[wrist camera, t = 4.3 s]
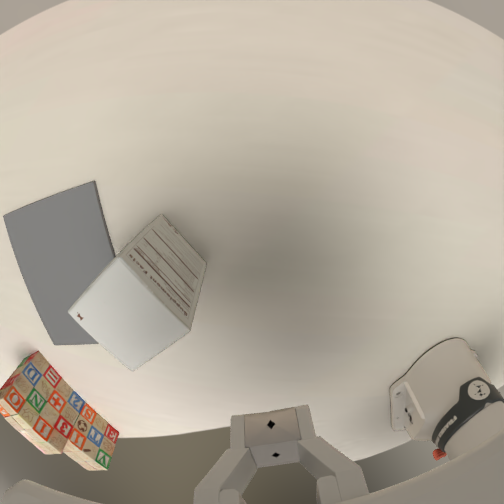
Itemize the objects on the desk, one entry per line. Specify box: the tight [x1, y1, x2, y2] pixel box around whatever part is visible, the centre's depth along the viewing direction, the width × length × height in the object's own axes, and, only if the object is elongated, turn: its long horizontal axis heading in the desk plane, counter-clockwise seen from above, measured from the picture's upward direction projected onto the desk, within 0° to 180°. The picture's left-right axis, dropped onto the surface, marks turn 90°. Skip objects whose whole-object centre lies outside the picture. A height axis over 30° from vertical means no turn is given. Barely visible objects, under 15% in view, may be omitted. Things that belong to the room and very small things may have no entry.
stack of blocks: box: [0, 351, 119, 470], centre depth 34 cm, size 21×6×12 cm, turn 28°
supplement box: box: [68, 215, 207, 371], centre depth 25 cm, size 7×7×13 cm
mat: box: [3, 181, 116, 345], centre depth 31 cm, size 20×16×1 cm
